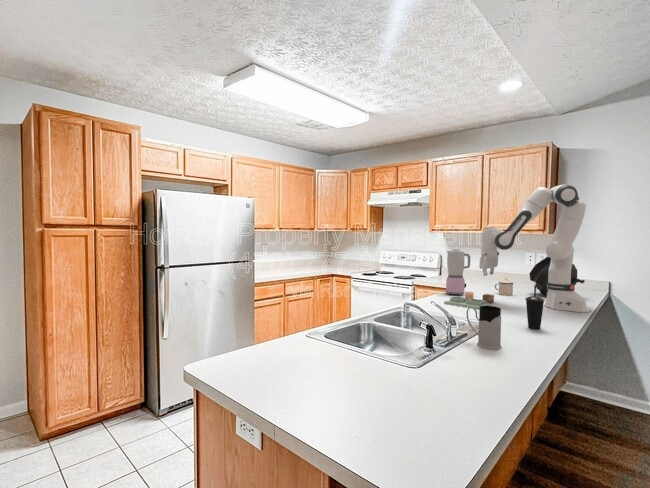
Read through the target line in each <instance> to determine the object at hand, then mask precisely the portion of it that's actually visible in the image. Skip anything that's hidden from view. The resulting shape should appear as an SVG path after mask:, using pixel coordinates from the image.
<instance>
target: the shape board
mask: <svg viewBox="0 0 650 488" xmlns="http://www.w3.org/2000/svg"><path fill="white" fill-rule="evenodd" d="M443 304H444V305H448V304H449V306H454V305H456V307H460V306H462V307H463V308H467V307H468V308H470V309H472V308H475V309H476V310H479V309H480V306H491V304H489V303H486V301H485V300H483V299H479V298H473V299H469V300H466V298H465V296H464V297H463V296H451V297H449V299H448V300H444V302H443ZM471 307H472V308H471ZM468 308H467V309H468Z"/></svg>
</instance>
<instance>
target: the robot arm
mask: <svg viewBox="0 0 650 488" xmlns="http://www.w3.org/2000/svg"><path fill="white" fill-rule="evenodd" d="M576 188H577V187H575V186H573V185H570V184H558V185H555V186H553V187H550V188H547V187H545V186H540V187H537V188H536V189H534V190H533V191H532V193H530V194H529V195H528V196H527V198H525V200H524V202H523V203H521V206H520V208H519V209H518V212H517V215H516V217H515V219H514V220H513V221H512V222H511V223H510V225H509V226H508V227H507V228H506V229H505V230H504V231H503V230H501V229H500V228H497V227H495V226H490V227H486V228H484V229H483V230H482V233H481V247H480V248H481V249H480V250H481V251H480V255H481V256H480V258H479V263H478V264H479V265H478V266H479V269H482V273H483V277H486V276H488V272H487V270H488V269H490V270H489V275H492V276H493V275H494V271H495V268H497V267H498V265H499V256H500V252H499V250H503V251H504V250H505V251H506V250H509V249H510V248H512V247H513V245H514V243H515V239H516V238H517V235H518V234H519V233H520V232H521V231H522V230H523V228H524V227H525V226H526V225H527V224H528V223H529V222H531V221H532V220H535V219H536V218H537V217H538V216H539V215H540V214H541V213H542V212H543V211H544V209H546V207H547V206H548V205H549V204H550V203H553V204H557V205H561V209H562V210H561V213H560V217H559V218H558V222H557V225H556V228H555V230H554V232H553V234H552V236H551V238H550V240H549V243H548V245H547V247H546V249H545V253H546V256H547V257H550V258H551V262H550V267H549V272H548V283H547V294H546V299H545V301H544V304H543V307H547V308H550V309H552V310H559V311H567V312H575V313H590V312H592V308H591V307H588V306H587V302H586V298H584V297H583V296H582V295H580V294H579V293H578V292H576V291H575V290H576V288H575V287H576V285H575V286H573V285H572V284H571V267H572V264H573V261H574V252H575V248H574V246H573V243H574V242H575V240H576V238H577V236H578V235H579V231H580V229H581V226H582V224H583V220H584V217H585V214H586V209H587V208H586V207H587V205H586V203H585V201H584V200H581V199H580V197H579V192H578V190H577V189H576ZM498 249H499V250H498Z"/></svg>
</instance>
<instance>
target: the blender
mask: <svg viewBox="0 0 650 488" xmlns="http://www.w3.org/2000/svg"><path fill="white" fill-rule="evenodd" d="M446 253H447V257H446V258H447V259H446V260H447V261H446V264H447V266H446V267H447V273H448V275H447V278H446V283H445V285H446V286H445V293H446V295H447V296H450V295H459V297H463V296H464V295H465V289H466V288H467V283H466V281H465V278H464V269H470V266H471V255H470V254H469V253H465V251H462V250H461V249H459V248H452V249H451V250H446ZM465 257H467V263H466V264H467V265H465Z"/></svg>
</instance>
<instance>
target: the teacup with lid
mask: <svg viewBox="0 0 650 488" xmlns="http://www.w3.org/2000/svg"><path fill="white" fill-rule="evenodd" d="M497 286H498V288H497ZM513 286H514V282H513V281H512V280H510V279H508V277H506V278H505V277H504V279H502V280H499V281H498V283H495V285H494V289H495V290H496V291H498V294H499V295H500V296H504V297H505V296H506V297H508V296H509V297H511V296H513V293H514V289H513V288H514V287H513Z"/></svg>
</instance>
